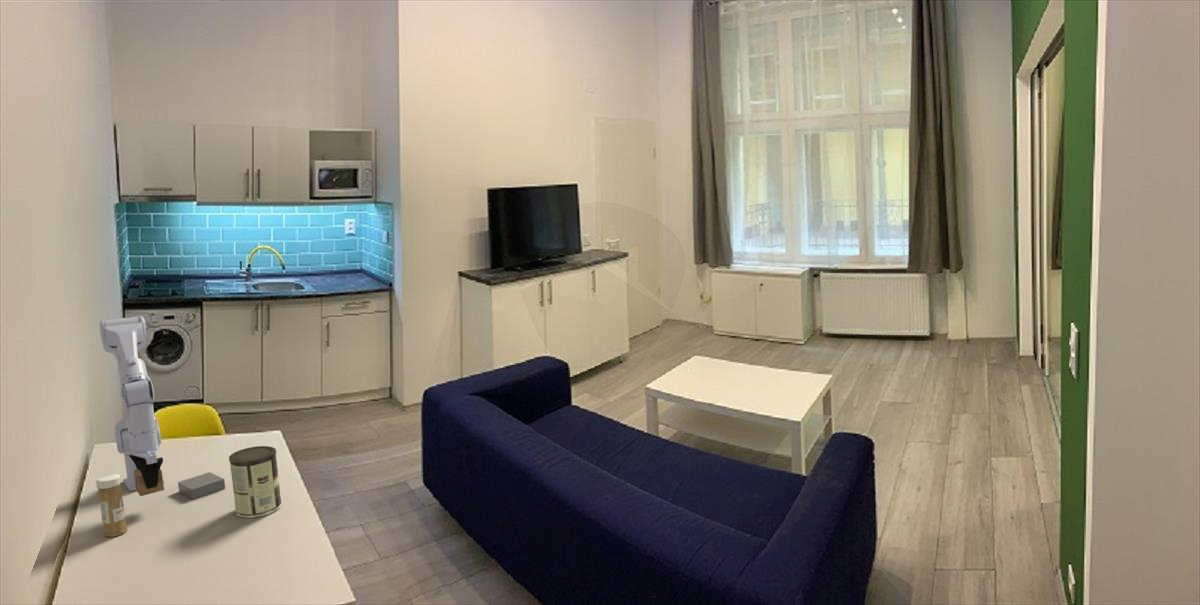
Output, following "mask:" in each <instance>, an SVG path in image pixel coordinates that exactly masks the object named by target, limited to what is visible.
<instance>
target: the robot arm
mask: <svg viewBox="0 0 1200 605" xmlns="http://www.w3.org/2000/svg"><path fill="white" fill-rule="evenodd" d="M98 324H99V331H100V338H101V343H102V348H103V349H104V352H106V353H108V354H109V353H110V354H113V356H114V357H115V359H116V362H117V370H118V376H119V381H120V386H119V391H120V392H119V393H120V398H121V403H122V407H123V410H124V414H125V415H124V416H122V418H120V419H119V420H118V421H116V423H115V426H114V431H115V432H114V434H115V436H114V437H115V442H116V449H117V452H118V453H119V454H122V455H124V456H123V458H124V464H125V466H124V467H125V471H126V478H124V479H123V480H122V481H123V483H124V484H125V486H126V487H127V489H128V491H129V492H132V491H133V492H134V491H137V490H136V485H135V478H134V470H138V469H139V470H140V472H141V474H142V476H143V480H144V483H145V485H146V487H147V489H150V488H154V487H157V484H158V476H159V470H160V469H161V466H162V464H163V462H164V458H163V457H158V452H159V450H160V448H161V447H160V445H161V444H162V435H161V430H160V425H159V422H158V418H156V416H155V411H154V410H155V409H154V403H155V390H154V389H155V388H154V384H153V382H152V380H151V378H150V376H149V375H148V371H147V367H146V363H145V361H144V360H143V359H141V358H139V355H138V352H139V350H141V349H143V348H145V347H146V343H147V337H148V336H147V333H148V332H147V327H146V321H145V317H143V316H142V315H138V316H132V317H122V318H116V319H106V320H104V319H101V320H100V322H99V323H98ZM164 483H165V480H164V479H163V484H164Z"/></svg>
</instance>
